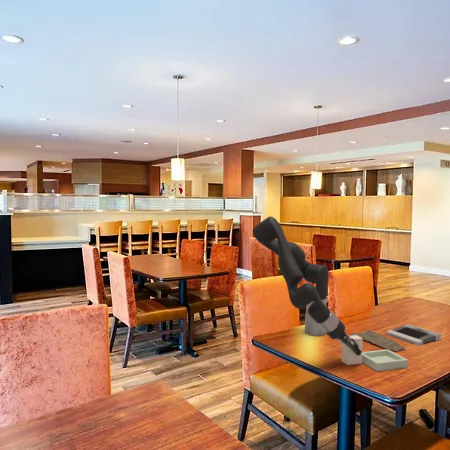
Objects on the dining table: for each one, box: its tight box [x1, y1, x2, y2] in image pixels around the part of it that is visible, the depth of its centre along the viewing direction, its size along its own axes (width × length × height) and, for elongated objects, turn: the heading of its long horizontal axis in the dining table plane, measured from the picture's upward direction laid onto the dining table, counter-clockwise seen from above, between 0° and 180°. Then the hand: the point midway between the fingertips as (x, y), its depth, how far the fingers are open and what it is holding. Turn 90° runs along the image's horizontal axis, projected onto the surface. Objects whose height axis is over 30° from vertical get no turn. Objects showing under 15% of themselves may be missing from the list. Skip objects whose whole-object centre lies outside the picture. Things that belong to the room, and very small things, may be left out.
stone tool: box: [351, 329, 406, 353], centre depth 180 cm, size 11×3×25 cm
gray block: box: [341, 334, 364, 366], centre depth 156 cm, size 4×6×10 cm, turn 107°
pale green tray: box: [362, 348, 409, 372], centre depth 156 cm, size 11×14×3 cm
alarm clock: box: [386, 323, 442, 347], centre depth 187 cm, size 17×5×16 cm
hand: (356, 351), depth 157 cm, fingers closed on gray block, 4 cm apart
